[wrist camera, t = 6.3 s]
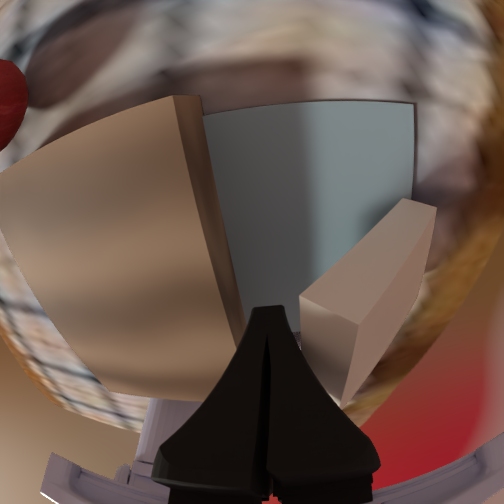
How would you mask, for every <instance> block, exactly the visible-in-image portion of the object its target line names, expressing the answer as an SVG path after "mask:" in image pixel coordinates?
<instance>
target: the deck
mask: <svg viewBox="0 0 504 504" xmlns="http://www.w3.org/2000/svg"><path fill="white" fill-rule="evenodd" d="M202 116H203V110H202V105H201V99H200V95H172V96H168V97H165V98H161V99H158V100H154V101H151V102H148V103H145V104H141V105H138V106H135V107H132V108H130V109H127V110H124V111H121V112H118V113H116V114H113V115H111V116H108V117H105V118H103V119H100V120H98V121H96V122H93V123H91V124H89V125H86V126H84V127H82V128H80V129H77V130H75V131H73V132H71V133H69V134H67V135H65V136H63V137H61V138H59V139H57V140H55V141H53V142H51V143H49V144H47V145H46V146H44V147H42V148H40V149H38V150H37V151H35V152H33V153H31V154H30V155H28V156H26V157H25V158H23V159H21V160H20V161H18V162H16V163H15V164H13V165H12V166H10V167H9V168H7V169H6V170H4V171H3V172H1V173H0V229H1V231H2V233H3V236H4V238H5V240H6V242H7V245H8V247H9V249H10V251H11V253H12V255H13V257H14V259H15V261H16V263H17V265H18V267H19V269H20V271H21V272H22V274H23V276H24V278H25V280H26V282H27V283H28V285H29V287H30V288H31V290H32V292H33V293H34V295H35V297H36V298H37V300H38V302H39V303H40V305H41V306H42V308H43V309H44V311H45V312H46V314H47V315H48V317H49V318H50V320H51V321H52V323H53V324H54V326H55V327H56V328H57V330H58V331H59V332H60V334H61V335H62V337H63V338H64V339H65V341H66V342H67V343H68V344H69V346H70V347H71V348H72V350H73V351H74V352H75V353H76V354H77V356H78V357H79V358H80V359H81V361H82V362H83V363H84V364H85V365H86V366H87V368H88V369H89V370H90V371H91V372H92V373H93V374H94V375H95V377H96V378H97V379H98V380H99V381H100V382H101V383H102V384H103V385H104V386H105V387H106V388H107V389H108V390H109V391H110V392H116V393H122V394H128V395H135V396H142V397H150V398H159V399H169V400H182V401H199V402H204V400H205V399H206V398H207V396H208V395H209V394H210V392H211V391H212V390H213V388H214V387H215V386H216V384H217V383H218V381H219V380H220V378H221V376H222V375H223V373H224V372H225V370H226V368H227V366H228V365H229V363H230V361H231V359H232V357H233V355H234V354H235V352H236V350H237V347H238V345H239V343H240V341H241V339H242V336H243V334H244V332H245V329H246V326H247V324H246V320H245V316H244V312H243V307H242V303H241V299H240V294H239V290H238V286H237V281H236V277H235V272H234V268H233V263H232V259H231V254H230V250H229V245H228V241H227V236H226V232H225V227H224V222H223V218H222V213H221V208H220V203H219V199H218V194H217V189H216V184H215V179H214V174H213V169H212V164H211V159H210V154H209V149H208V144H207V139H206V134H205V128H204V123H203V118H202Z"/></svg>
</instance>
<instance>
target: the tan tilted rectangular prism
mask: <svg viewBox="0 0 504 504" xmlns="http://www.w3.org/2000/svg"><path fill="white" fill-rule="evenodd" d="M436 212H437V207H434V206H430V205H427V204H423V203H420V202H416V201H413V200H409V199H405V198H402V199H401V200H400V201H399V202H398V203H397V204H396V205H395V206H394V208H393V209H392V210H391V211H390V212H389V213H388V214H387V215H386V216H385V217H384V218H383V219H382V220H381V221H380V222H379V223H378V224H377V225H375V226H374V227H373V228H372V229H371V230H370V231H369V232H368V233H367V234H366V235H365V236H364V237H363V238H362V239H361V240H360V241H359V242H358V243H357V244H356V245H355V246H354V247H353V248H352V249H350V250H349V251H348V252H347V253H346V254H345V255H344V256H343V257H342V258H341V259H340V260H339V261H337V262H336V263H335V264H334V265H333V266H332V267H331V268H330V269H329V270H328V271H326V272H325V273H324V274H323V275H322V276H321V277H320V278H319V279H317V280H316V281H315V282H314V283H313V284H312V285H311V286H310V287H308V288H307V289H306V290H305V291H304V292H303V293H301V294H300V295H299V301H300V325H301V352H302V354H303V356H304V357H305V359H306V361H307V363H308V364H309V366H310V368H311V369H312V371H313V373H314V374H315V376H316V377H317V379H318V380H319V382H320V383H321V384H322V386H323V387H324V389H325V390H326V391H327V393H328V394H329V395H330V396H331V398H332V399H333V400H334V401H335V403H336V404H337V405H338V406H339V407H340V409H341V410H342V409H343V408H344V406H345V405H346V404H347V403H348V402H349V400H350V399H351V398H352V397H353V395H354V394H355V393H356V392H357V390H358V389H359V388H360V386H361V385H362V384H363V382H364V381H365V380H366V378H367V377H368V376H369V374H370V373H371V371H372V370H373V369H374V367H375V366H376V364H377V363H378V362H379V360H380V359H381V357H382V356H383V354H384V353H385V351H386V350H387V348H388V347H389V345H390V343H391V342H392V340H393V339H394V337H395V336H396V334H397V332H398V331H399V329H400V327H401V326H402V324H403V322H404V321H405V319H406V317H407V315H408V314H409V312H410V310H411V308H412V306H413V305H414V303H415V301H416V299H417V297H418V293H419V290H420V286H421V283H422V279H423V275H424V271H425V267H426V263H427V259H428V254H429V250H430V245H431V240H432V235H433V230H434V224H435V218H436Z"/></svg>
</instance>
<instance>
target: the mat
mask: <svg viewBox="0 0 504 504" xmlns="http://www.w3.org/2000/svg"><path fill="white" fill-rule="evenodd" d="M202 118H203V123H204V128H205V134H206V139H207V144H208V149H209V154H210V159H211V164H212V169H213V174H214V179H215V184H216V189H217V194H218V199H219V203H220V208H221V213H222V218H223V222H224V227H225V232H226V236H227V241H228V245H229V250H230V254H231V259H232V263H233V268H234V272H235V277H236V281H237V286H238V290H239V294H240V299H241V303H242V307H243V312H244V316H245V320H246V324H248V321H249V318H250V315H251V311H252V309H253V308H254V307H261V306H272V305H283V306H284V307H285V313H286V317H287V320H288V323H289V326H290V328H291V331H292V332H301V325H300V301H299V295H300V294H301V293H303V292H304V291H305V290H306V289H307V288H308V287H310V286H311V285H312V284H313V283H314V282H315V281H316V280H317V279H319V278H320V277H321V276H322V275H323V274H324V273H325V272H326V271H328V270H329V269H330V268H331V267H332V266H333V265H334V264H335V263H336V262H337V261H339V260H340V259H341V258H342V257H343V256H344V255H345V254H346V253H347V252H348V251H349V250H350V249H352V248H353V247H354V246H355V245H356V244H357V243H358V242H359V241H360V240H361V239H362V238H363V237H364V236H365V235H366V234H367V233H368V232H369V231H370V230H371V229H372V228H373V227H374V226H375V225H377V224H378V223H379V222H380V221H381V220H382V219H383V218H384V217H385V216H386V215H387V214H388V213H389V212H390V211H391V210H392V209H393V208H394V206H395V205H396V204H397V203H398V202H399V201H400V200H401V199H402V198H405V199H409V200H411V195H412V183H413V165H414V110H413V104H404V103H391V102H373V101H320V102H301V103H287V104H277V105H267V106H259V107H251V108H244V109H237V110H231V111H225V112H219V113H214V114H209V115H204V116H202Z"/></svg>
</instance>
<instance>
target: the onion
mask: <svg viewBox="0 0 504 504" xmlns="http://www.w3.org/2000/svg"><path fill="white" fill-rule="evenodd" d="M27 102H28V90H27V84H26V80H25V76H24V75H23V73H22V72H21V71H20V69H19V68H18V67H17V66H16V65H15V64H14V63H13V62H12V61H7V60H2V59H0V151H2V150H3V149H4V148H5V147H6V146H7V145H8V144H9V143H10V141H11V140H12V139H13V138H14V136H15V134H16V132H17V131H18V129H19V127H20V125H21V123H22V121H23V119H24V115H25V112H26V109H27Z"/></svg>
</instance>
